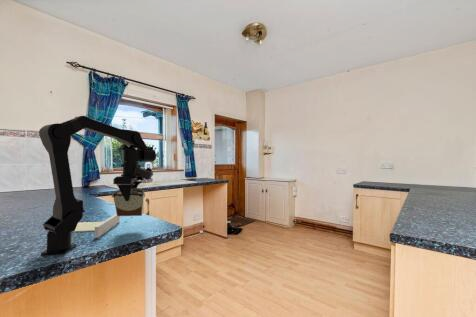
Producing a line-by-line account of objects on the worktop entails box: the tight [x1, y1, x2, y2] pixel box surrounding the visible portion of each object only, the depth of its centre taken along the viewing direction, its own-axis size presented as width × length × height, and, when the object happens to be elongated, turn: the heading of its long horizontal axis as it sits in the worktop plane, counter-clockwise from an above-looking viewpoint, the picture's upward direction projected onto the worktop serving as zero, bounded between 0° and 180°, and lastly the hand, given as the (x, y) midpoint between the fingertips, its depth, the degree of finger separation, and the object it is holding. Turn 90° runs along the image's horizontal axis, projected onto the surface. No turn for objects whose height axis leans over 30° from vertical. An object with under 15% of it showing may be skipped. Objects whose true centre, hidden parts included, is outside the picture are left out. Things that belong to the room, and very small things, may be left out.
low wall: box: [94, 213, 121, 239], centre depth 87 cm, size 20×1×4 cm, turn 9°
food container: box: [111, 187, 146, 217], centre depth 87 cm, size 12×6×10 cm, turn 97°
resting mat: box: [72, 221, 103, 233], centre depth 89 cm, size 12×15×1 cm
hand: (130, 199), depth 87 cm, fingers closed on food container, 6 cm apart
